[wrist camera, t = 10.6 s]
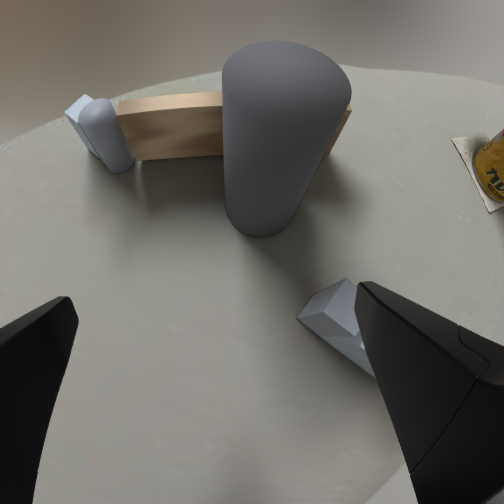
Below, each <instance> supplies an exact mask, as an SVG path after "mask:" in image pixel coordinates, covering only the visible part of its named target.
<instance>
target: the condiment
mask: <svg viewBox="0 0 504 504" xmlns="http://www.w3.org/2000/svg"><path fill="white" fill-rule="evenodd" d="M452 141H453V143H454V144H455V145H456V147H457V149H458V151H459V153H460V154H461V156H462V158H463V160H464V162H465V163H466V165H467V167H468V169H469V171H470V174H471V176H472V178H473V180H474V182H475V184H476V186H477V188H478V190H479V192H480V195H481V197H482V198H483V200H484V203H485V205H486V207H487V209H488V211H489V212H493V211H495V210H497V209H499V208H501V207H503V206H504V129H503V130H502V131H501V132H500V133H499V134H498V135H496V136H495V137H494V138H493V139H492V140H491V141H490V139H489V138H488V136H487V135H486V133H484V134H479V135H474V136H467V137H460V138H452ZM470 152H471V153H472V157H471V153H470Z"/></svg>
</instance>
